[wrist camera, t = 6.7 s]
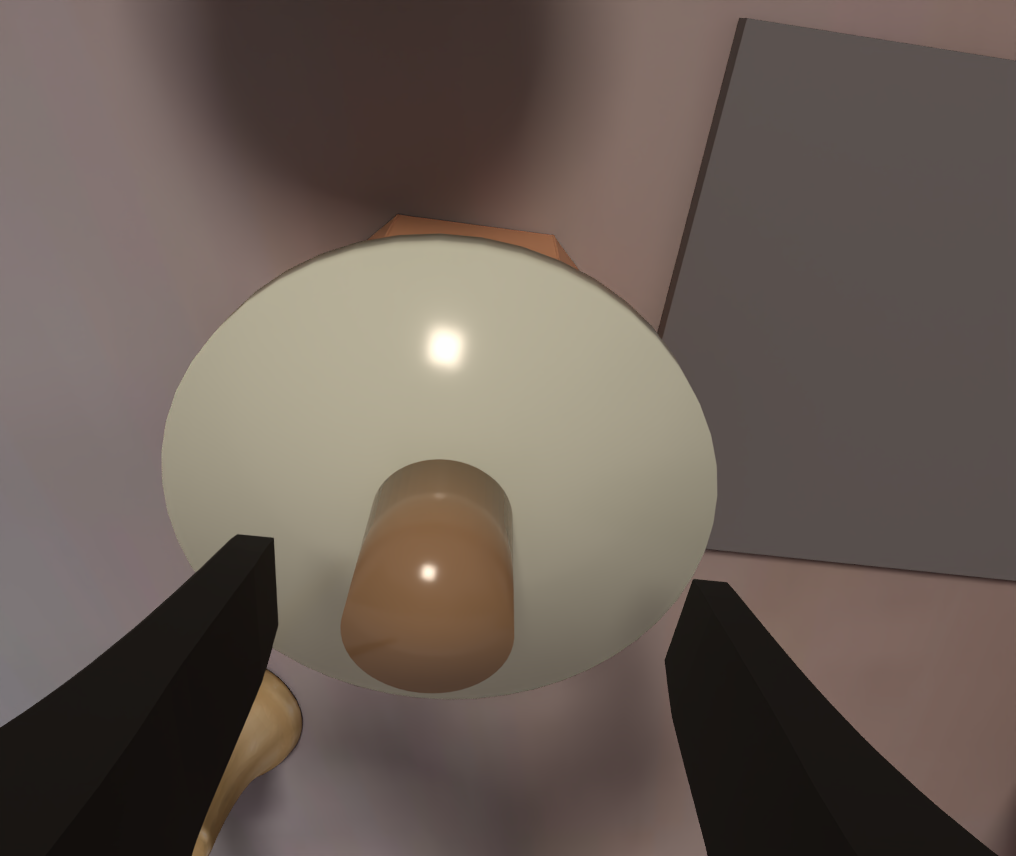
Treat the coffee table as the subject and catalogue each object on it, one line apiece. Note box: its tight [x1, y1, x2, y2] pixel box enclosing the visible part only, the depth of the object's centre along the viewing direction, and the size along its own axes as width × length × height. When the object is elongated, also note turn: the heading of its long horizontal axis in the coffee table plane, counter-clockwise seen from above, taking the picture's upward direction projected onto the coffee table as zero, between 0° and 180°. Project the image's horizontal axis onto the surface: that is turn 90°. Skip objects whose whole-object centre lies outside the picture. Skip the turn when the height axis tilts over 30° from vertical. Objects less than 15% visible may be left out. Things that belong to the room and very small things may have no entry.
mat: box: [658, 18, 1016, 581], centre depth 20 cm, size 15×15×1 cm
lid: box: [162, 233, 717, 699], centre depth 15 cm, size 12×12×4 cm
